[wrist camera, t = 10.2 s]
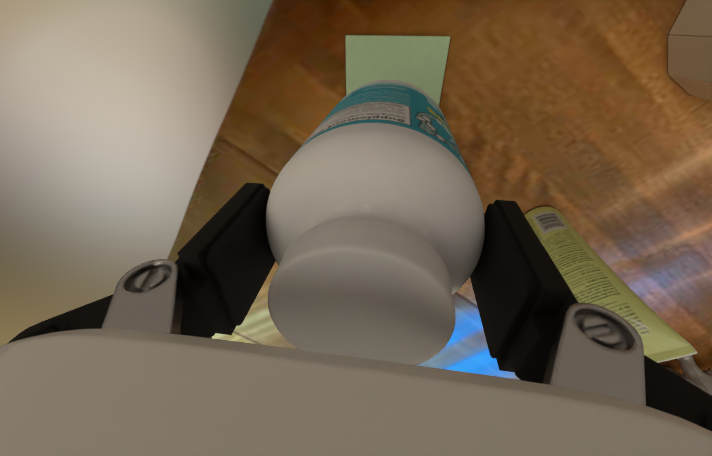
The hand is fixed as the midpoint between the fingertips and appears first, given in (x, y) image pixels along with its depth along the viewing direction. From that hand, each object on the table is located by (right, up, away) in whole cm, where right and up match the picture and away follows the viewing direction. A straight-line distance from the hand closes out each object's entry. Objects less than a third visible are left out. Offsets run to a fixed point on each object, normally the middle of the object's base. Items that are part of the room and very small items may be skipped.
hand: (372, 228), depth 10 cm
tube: (+23, +1, +27) cm, 36 cm away
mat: (+3, +15, +20) cm, 25 cm away
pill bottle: (+1, +6, +8) cm, 10 cm away
